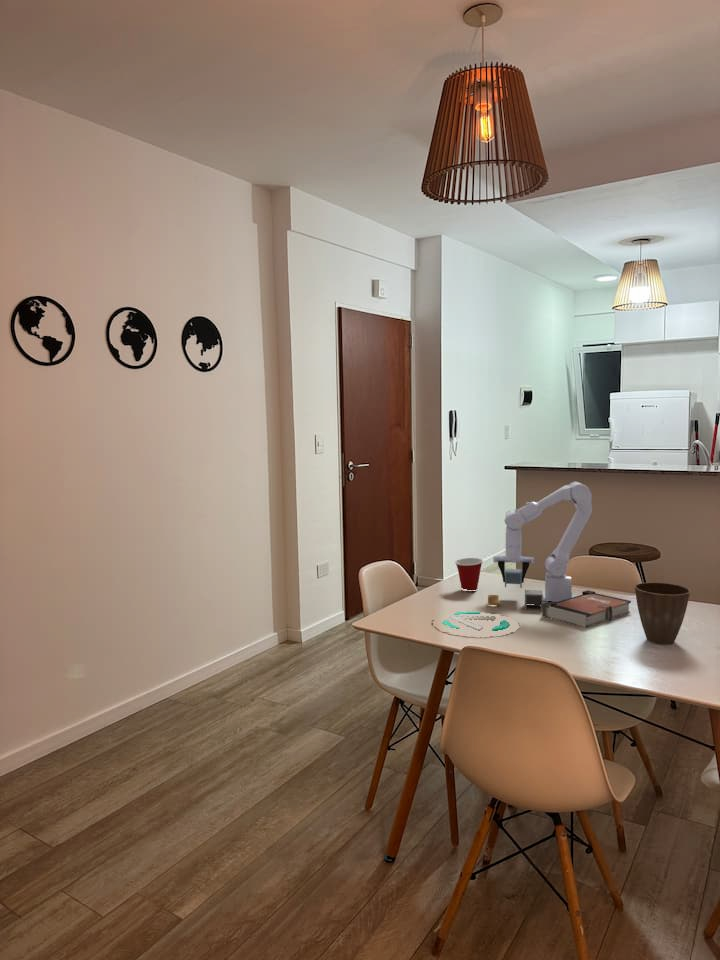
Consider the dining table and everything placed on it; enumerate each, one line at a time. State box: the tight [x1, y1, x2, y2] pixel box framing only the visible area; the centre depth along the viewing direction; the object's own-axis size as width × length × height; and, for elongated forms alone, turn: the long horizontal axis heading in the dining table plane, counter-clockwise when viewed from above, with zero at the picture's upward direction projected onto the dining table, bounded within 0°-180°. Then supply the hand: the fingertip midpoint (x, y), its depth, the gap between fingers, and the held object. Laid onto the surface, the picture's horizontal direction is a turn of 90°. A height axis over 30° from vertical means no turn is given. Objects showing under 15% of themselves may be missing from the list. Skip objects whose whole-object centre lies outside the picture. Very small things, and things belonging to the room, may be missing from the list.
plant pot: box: [634, 582, 691, 646], centre depth 201 cm, size 15×15×16 cm
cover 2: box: [524, 589, 544, 610], centre depth 239 cm, size 6×6×6 cm
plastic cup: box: [454, 557, 484, 590], centre depth 263 cm, size 11×11×12 cm
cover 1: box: [504, 568, 523, 589], centre depth 249 cm, size 6×6×6 cm
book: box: [541, 589, 632, 629], centre depth 229 cm, size 26×18×5 cm
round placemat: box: [442, 610, 510, 631], centre depth 221 cm, size 28×28×2 cm
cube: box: [487, 594, 499, 607], centre depth 242 cm, size 4×4×4 cm
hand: (513, 581), depth 250 cm, fingers closed on cover 1, 6 cm apart
